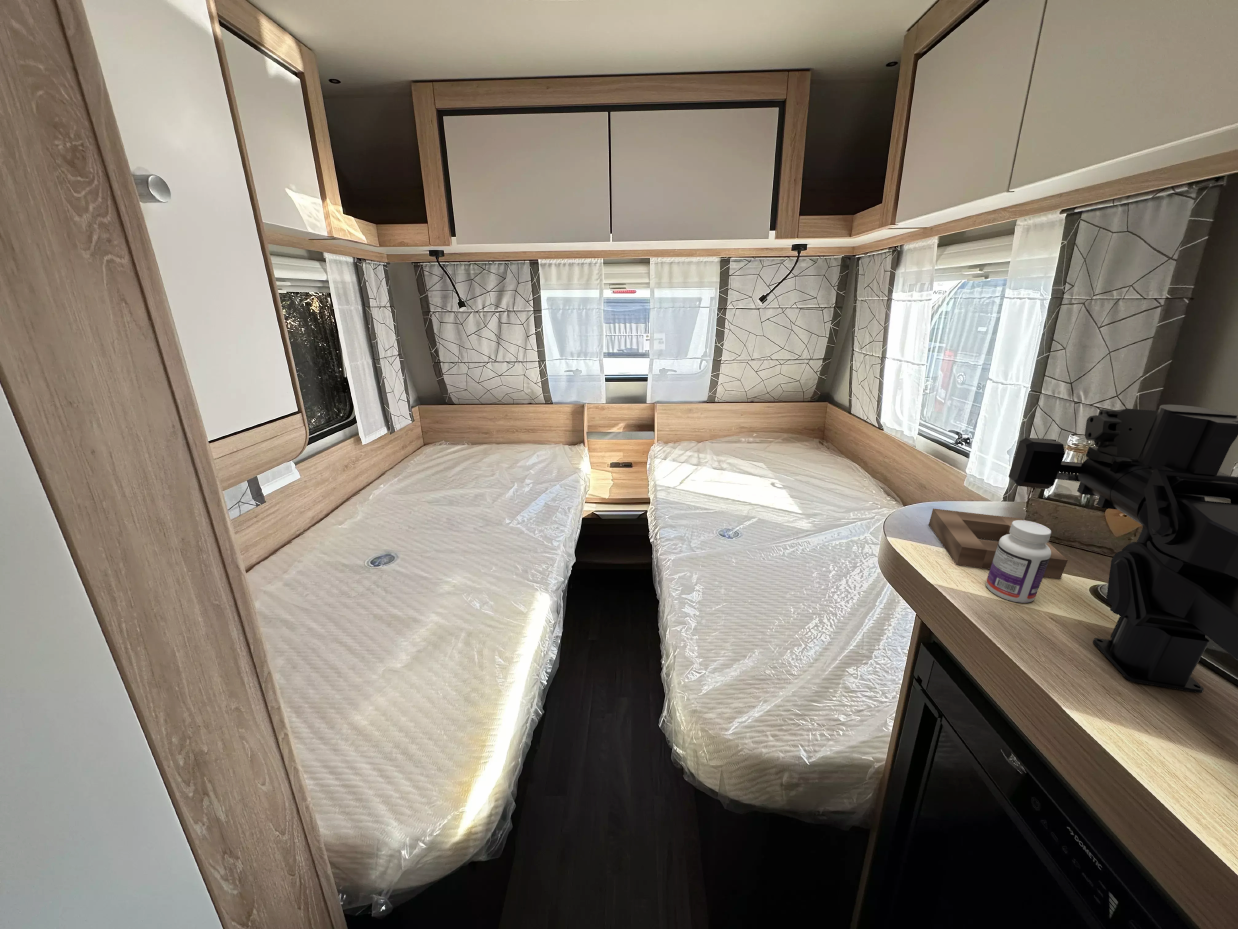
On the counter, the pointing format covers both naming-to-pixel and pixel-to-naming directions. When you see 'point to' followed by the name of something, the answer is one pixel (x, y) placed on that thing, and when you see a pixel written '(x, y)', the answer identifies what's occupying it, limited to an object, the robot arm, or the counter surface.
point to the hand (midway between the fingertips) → (1065, 448)
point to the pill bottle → (1020, 562)
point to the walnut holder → (967, 530)
